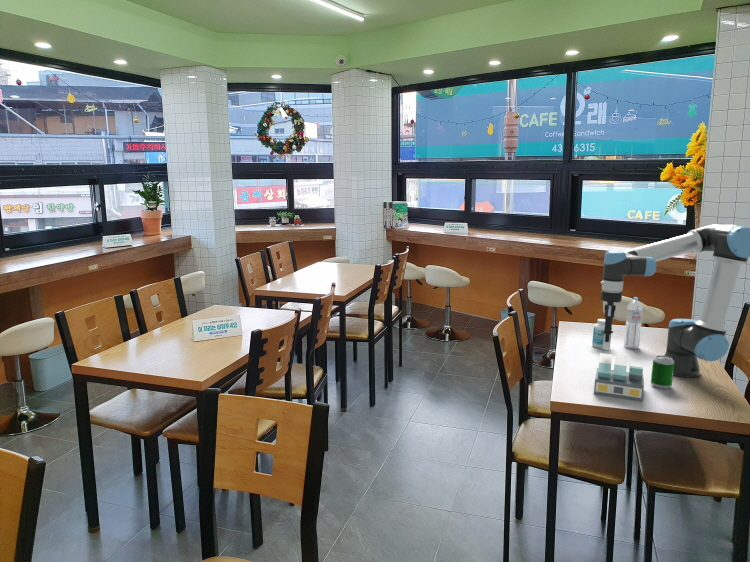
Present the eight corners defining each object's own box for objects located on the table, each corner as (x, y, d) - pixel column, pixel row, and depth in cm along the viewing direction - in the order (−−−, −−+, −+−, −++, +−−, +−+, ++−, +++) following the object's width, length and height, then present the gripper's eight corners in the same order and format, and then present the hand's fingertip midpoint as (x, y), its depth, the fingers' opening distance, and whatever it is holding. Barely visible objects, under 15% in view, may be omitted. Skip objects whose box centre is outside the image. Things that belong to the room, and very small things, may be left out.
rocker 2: (626, 361, 225) (627, 356, 224) (625, 380, 216) (626, 376, 214) (614, 359, 227) (615, 355, 226) (613, 379, 217) (613, 374, 216)
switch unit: (641, 388, 225) (643, 369, 224) (642, 401, 212) (644, 381, 211) (595, 382, 232) (597, 363, 231) (593, 394, 219) (595, 374, 218)
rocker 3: (641, 371, 223) (642, 365, 223) (642, 375, 212) (642, 369, 212) (629, 370, 225) (629, 364, 225) (629, 374, 214) (630, 367, 214)
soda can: (670, 391, 223) (673, 361, 221) (649, 387, 227) (652, 358, 224) (672, 385, 229) (675, 356, 227) (651, 381, 233) (654, 353, 231)
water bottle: (640, 346, 280) (644, 297, 275) (637, 350, 274) (642, 299, 270) (625, 344, 284) (629, 295, 279) (622, 348, 278) (627, 298, 273)
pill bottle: (591, 347, 278) (593, 320, 276) (592, 343, 285) (594, 317, 282) (608, 349, 275) (610, 322, 273) (608, 345, 282) (610, 319, 279)
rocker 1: (611, 359, 227) (612, 354, 226) (609, 378, 218) (610, 373, 217) (600, 357, 229) (600, 353, 228) (597, 377, 220) (597, 372, 218)
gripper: (602, 287, 229) (596, 343, 233) (600, 292, 217) (595, 352, 221) (622, 288, 226) (616, 346, 230) (621, 294, 214) (615, 355, 218)
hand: (606, 349), depth 226 cm, fingers closed
